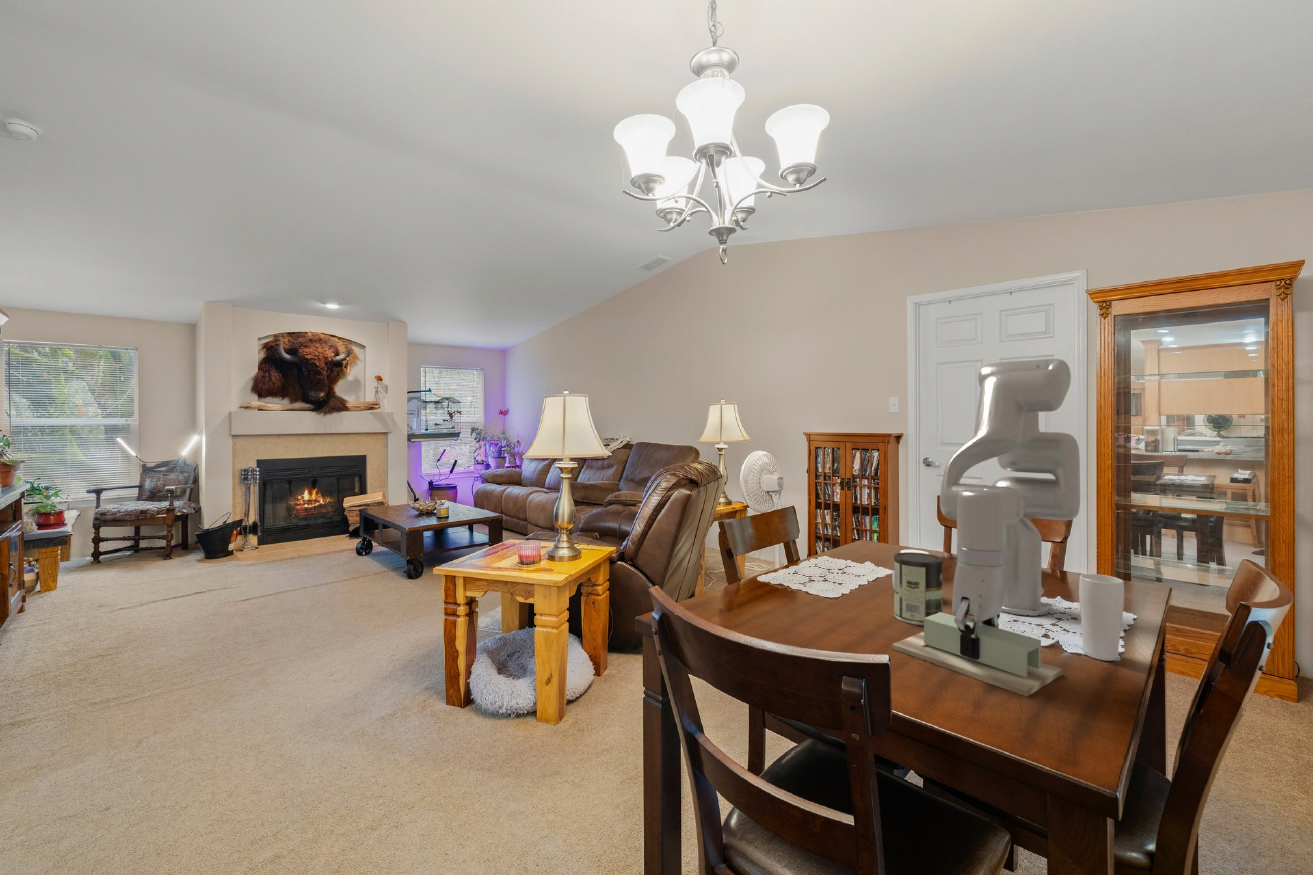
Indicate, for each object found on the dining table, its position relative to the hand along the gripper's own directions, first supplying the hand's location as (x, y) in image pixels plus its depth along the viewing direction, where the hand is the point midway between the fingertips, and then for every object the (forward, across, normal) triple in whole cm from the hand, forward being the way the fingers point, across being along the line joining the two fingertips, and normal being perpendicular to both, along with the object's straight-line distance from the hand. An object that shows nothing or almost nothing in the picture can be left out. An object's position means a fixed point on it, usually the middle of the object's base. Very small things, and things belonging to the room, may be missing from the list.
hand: (978, 651), depth 105 cm
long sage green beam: (+1, 0, 0) cm, 1 cm away
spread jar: (+2, -26, -28) cm, 38 cm away
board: (+2, 0, -1) cm, 2 cm away
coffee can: (+2, -14, -20) cm, 25 cm away
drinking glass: (+2, -22, +12) cm, 25 cm away
